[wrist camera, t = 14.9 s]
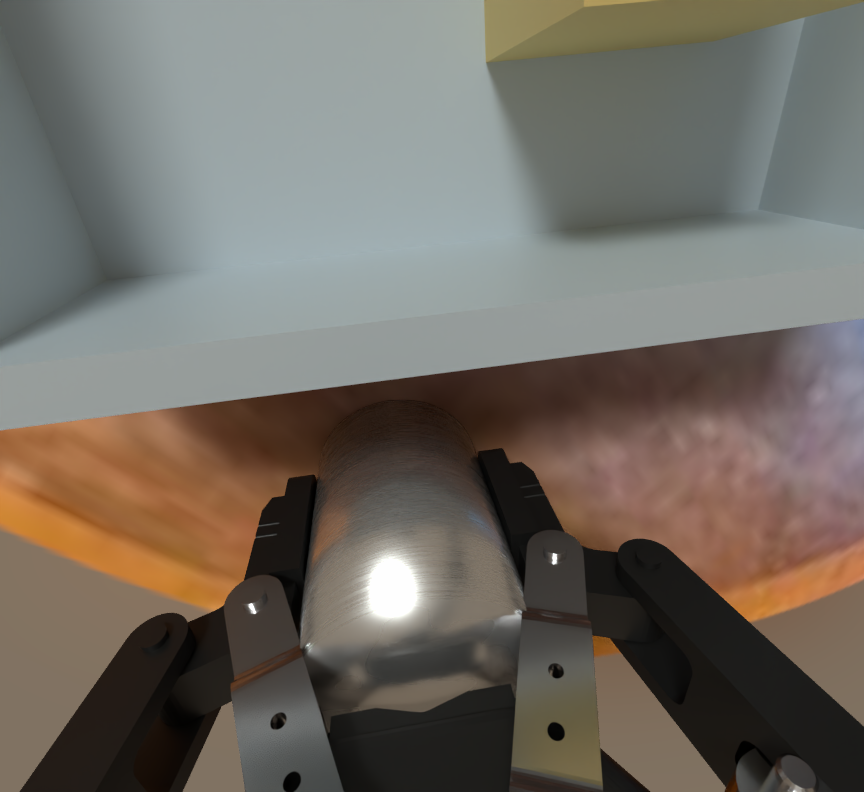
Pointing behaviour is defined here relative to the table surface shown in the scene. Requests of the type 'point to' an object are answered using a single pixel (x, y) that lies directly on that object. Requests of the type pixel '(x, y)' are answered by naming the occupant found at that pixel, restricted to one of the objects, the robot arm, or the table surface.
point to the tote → (399, 196)
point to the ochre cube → (628, 23)
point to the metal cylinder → (406, 567)
